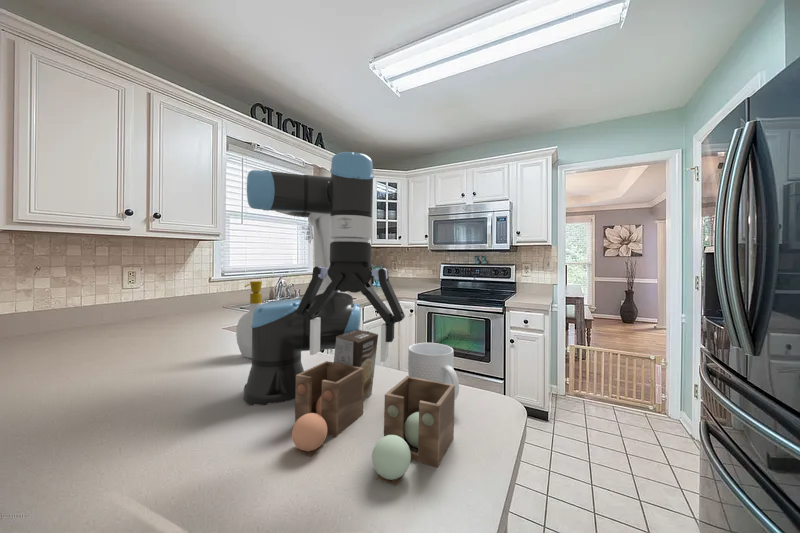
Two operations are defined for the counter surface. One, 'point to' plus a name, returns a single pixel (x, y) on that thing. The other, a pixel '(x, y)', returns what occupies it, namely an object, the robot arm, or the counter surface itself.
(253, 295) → the soap bottle
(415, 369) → the mug
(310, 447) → the terracotta ball
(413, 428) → the sage ball
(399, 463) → the sage ball
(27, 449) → the counter surface
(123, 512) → the counter surface
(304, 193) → the robot arm
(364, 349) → the coffee box
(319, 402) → the terracotta ball
